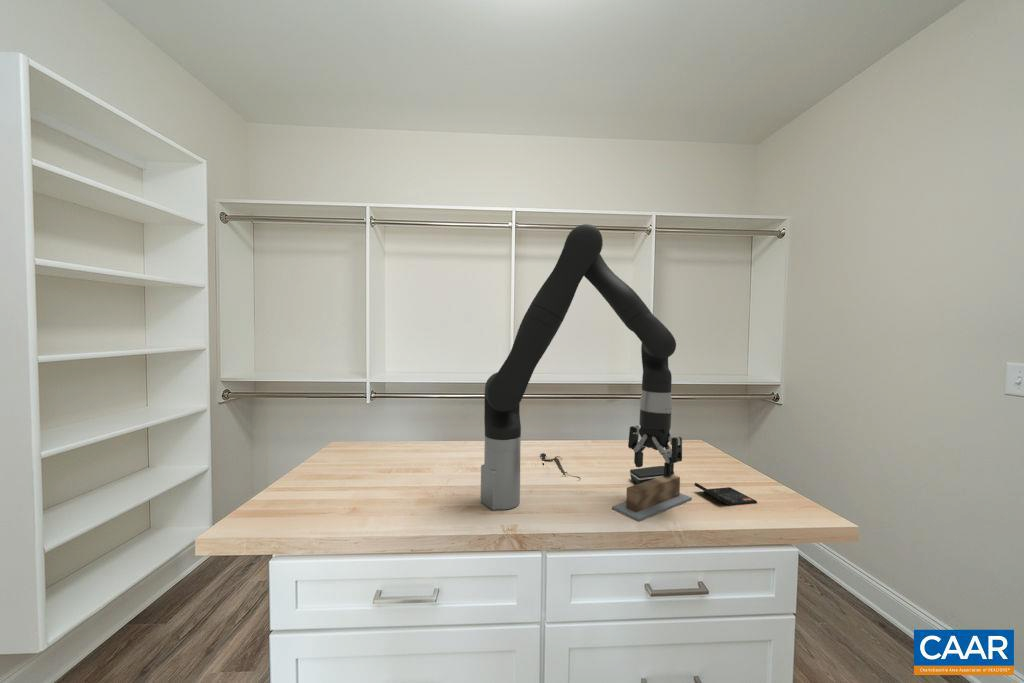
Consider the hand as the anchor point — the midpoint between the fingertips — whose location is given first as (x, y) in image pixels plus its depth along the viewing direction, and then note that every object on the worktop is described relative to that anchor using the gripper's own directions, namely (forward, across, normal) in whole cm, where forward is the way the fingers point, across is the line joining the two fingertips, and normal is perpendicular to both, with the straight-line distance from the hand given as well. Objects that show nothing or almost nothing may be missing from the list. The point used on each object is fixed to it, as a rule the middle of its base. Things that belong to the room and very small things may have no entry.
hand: (652, 471), depth 101 cm
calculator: (+9, +8, +20) cm, 24 cm away
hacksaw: (+9, -34, -2) cm, 35 cm away
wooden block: (+8, 0, +1) cm, 8 cm away
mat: (+8, 0, 0) cm, 8 cm away
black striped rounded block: (+7, -12, +7) cm, 15 cm away
